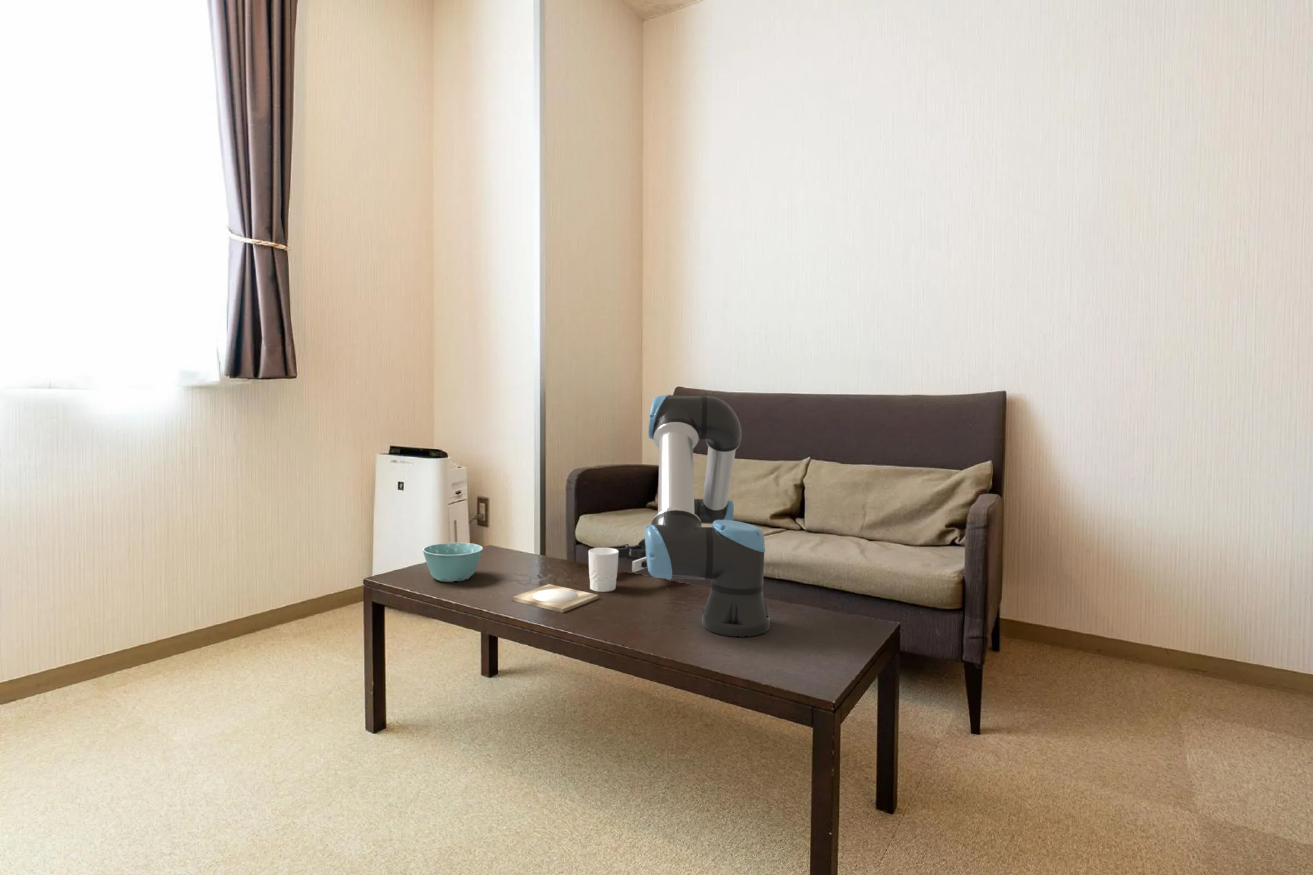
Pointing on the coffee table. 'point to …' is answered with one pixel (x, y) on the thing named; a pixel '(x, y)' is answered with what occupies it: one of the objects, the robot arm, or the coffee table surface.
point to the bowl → (452, 560)
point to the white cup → (603, 569)
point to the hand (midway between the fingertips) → (612, 562)
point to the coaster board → (555, 598)
